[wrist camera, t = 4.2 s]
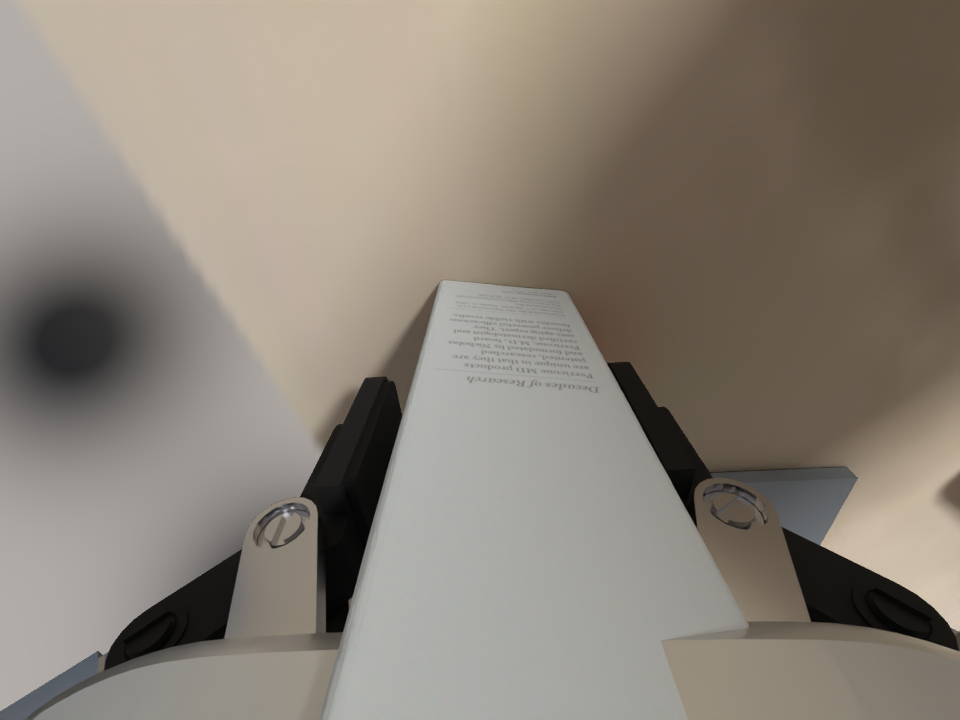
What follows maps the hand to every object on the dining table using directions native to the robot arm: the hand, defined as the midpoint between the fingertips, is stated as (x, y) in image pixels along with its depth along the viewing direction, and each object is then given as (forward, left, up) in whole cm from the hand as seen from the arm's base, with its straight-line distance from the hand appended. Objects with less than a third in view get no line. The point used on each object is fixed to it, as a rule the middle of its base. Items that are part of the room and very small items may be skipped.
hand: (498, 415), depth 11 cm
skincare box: (0, 0, -3) cm, 3 cm away
